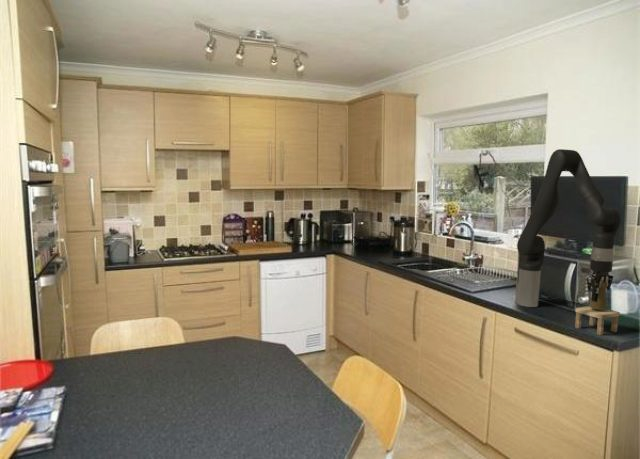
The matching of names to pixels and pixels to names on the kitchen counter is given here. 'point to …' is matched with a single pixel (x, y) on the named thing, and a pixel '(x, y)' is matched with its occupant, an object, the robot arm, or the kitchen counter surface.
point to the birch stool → (599, 314)
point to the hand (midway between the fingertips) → (597, 301)
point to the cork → (600, 297)
